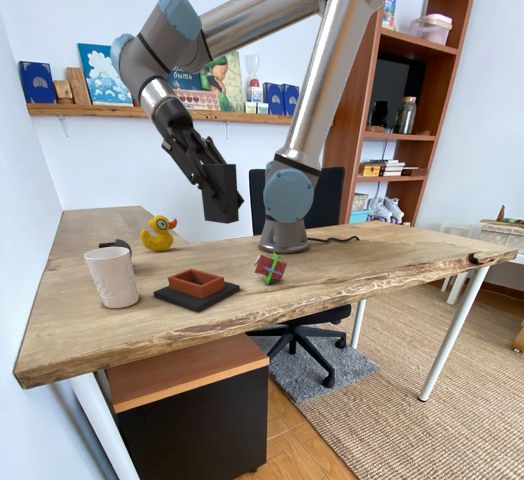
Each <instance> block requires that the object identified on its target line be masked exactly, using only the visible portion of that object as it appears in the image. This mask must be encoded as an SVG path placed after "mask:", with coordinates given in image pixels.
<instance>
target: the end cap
mask: <svg viewBox="0 0 524 480" xmlns="http://www.w3.org/2000/svg"><path fill="white" fill-rule="evenodd" d="M97 247H98V249H100V248H107V247H123V248H127V249H129V251H130V255H131V258H132V256H133V250H132V247H131V246H130V245H129V243H128V242H126V241H125V240H123V239H120V238H116V239H115V241H112V242H103V243H102V242H100V243H99V244H98V246H97Z"/></svg>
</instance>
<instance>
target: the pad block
mask: <svg viewBox="0 0 524 480" xmlns="http://www.w3.org/2000/svg"><path fill="white" fill-rule="evenodd" d="M201 164H202V165H203V167H204V169H205V171H206V173H207V175H208V180H209V178H213V179H214V180H215V182H216V183H217V185H218V186H219V187H220V189H221V190H222V192H223V193H224V195H225V196H226V197H227V199H228V200H229V202H230V203H231V204H230V206H229V207H228V209H227V210H226V212H225V213H222V212H221V210H220V209H219V208H218V206H217V205H216V203H215V202H214V201H213V199H212V198H211V197H210V196H209V195H208V194H207V192H206V191H205V190H204V188H202V190H200V191H201V198H202V206H203V209H202V210H203V216H204V221H206V222H212V223H219V224H224V225H225V224H227V225H229V224H234V223H236V222H239V221H240V214H239V209H238V194H237V191H238V175H237V164H236V163H227V164H203V163H201Z"/></svg>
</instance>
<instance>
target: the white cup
mask: <svg viewBox="0 0 524 480" xmlns="http://www.w3.org/2000/svg"><path fill="white" fill-rule="evenodd" d="M83 258H84V261H85V263H86V266H87V268H88V270H89V271H88V272H89V273H90V276H91V278H92V281H93V283H94V286H95V288H96V290H97V292H98V294H99V296H100V298H101V301H102V303H103V306H105V307H106V308H109V309H121V308H126V307H130V306H133V305H134V304H136V303H138V302H139V297H140V295H139V292H138V287H137V280H136V275H135V270H134V265H133V260H132V257H131V255H130V251H129V249H127V248H123V247H107V248H97V249H92V250H89V251H87V252H85V253H84V254H83Z"/></svg>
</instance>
